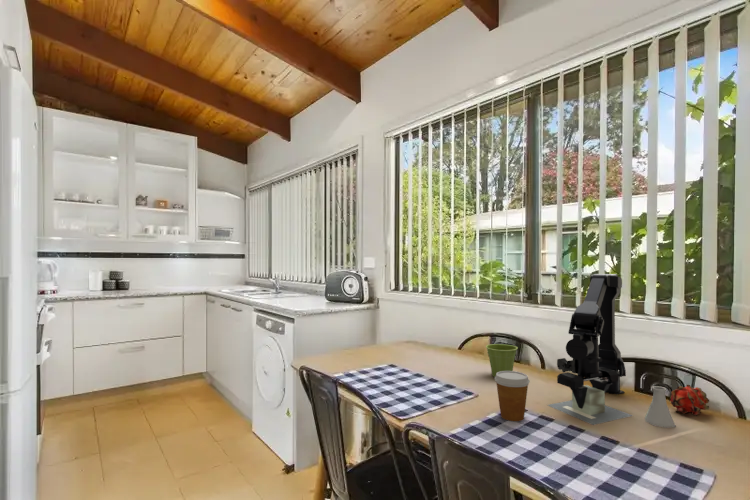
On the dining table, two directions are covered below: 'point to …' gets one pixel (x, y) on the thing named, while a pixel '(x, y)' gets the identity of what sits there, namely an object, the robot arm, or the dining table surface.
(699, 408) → the dragon fruit
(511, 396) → the disposable coffee cup
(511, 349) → the plant pot
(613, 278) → the robot arm
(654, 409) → the flask
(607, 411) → the board
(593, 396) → the sage block
